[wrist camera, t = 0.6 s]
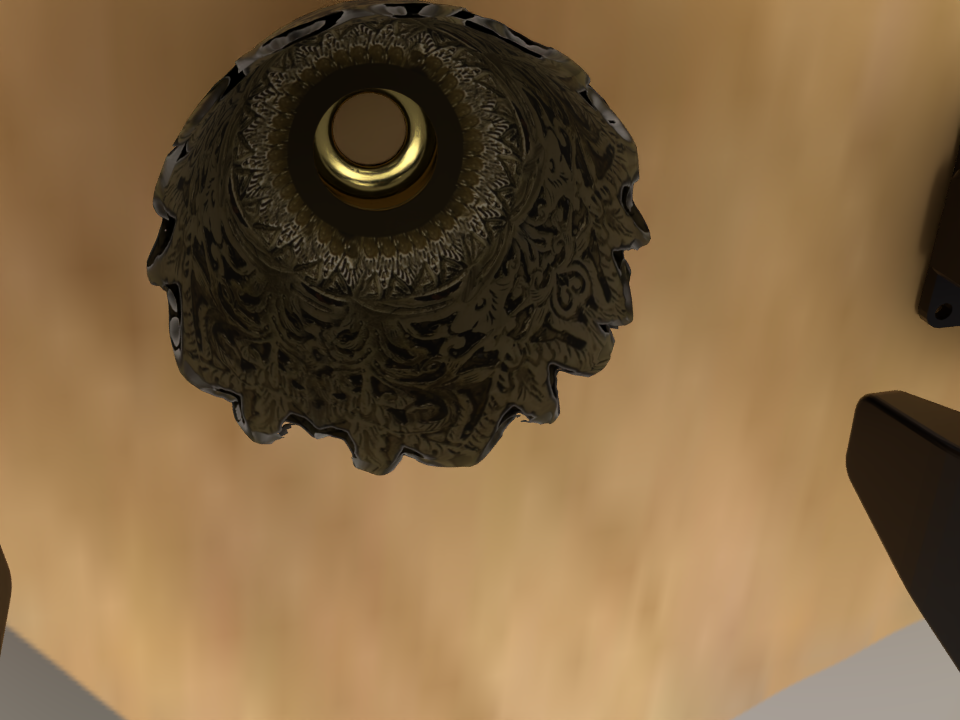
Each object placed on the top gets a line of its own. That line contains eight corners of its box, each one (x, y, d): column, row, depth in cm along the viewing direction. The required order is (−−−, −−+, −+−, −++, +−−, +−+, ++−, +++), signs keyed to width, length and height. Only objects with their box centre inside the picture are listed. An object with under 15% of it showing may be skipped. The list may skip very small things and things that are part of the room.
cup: (592, 53, 20) (748, 158, 13) (441, 324, 23) (508, 527, 16) (275, -127, 18) (270, -109, 11) (145, 205, 20) (74, 390, 13)
